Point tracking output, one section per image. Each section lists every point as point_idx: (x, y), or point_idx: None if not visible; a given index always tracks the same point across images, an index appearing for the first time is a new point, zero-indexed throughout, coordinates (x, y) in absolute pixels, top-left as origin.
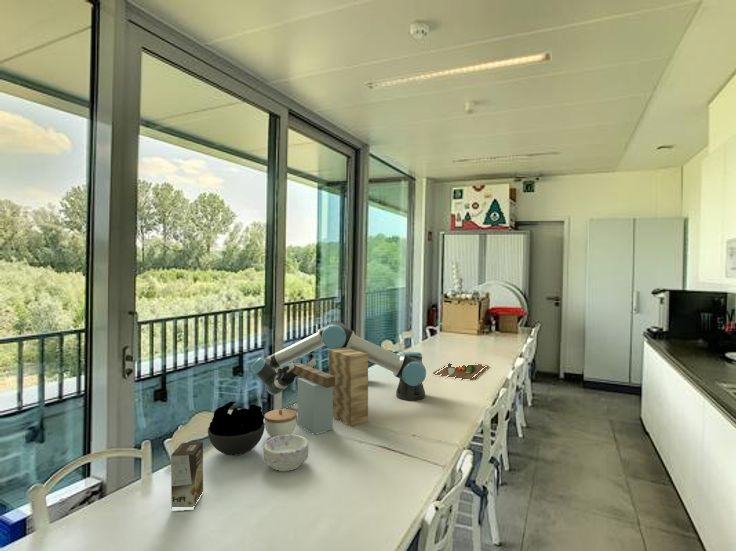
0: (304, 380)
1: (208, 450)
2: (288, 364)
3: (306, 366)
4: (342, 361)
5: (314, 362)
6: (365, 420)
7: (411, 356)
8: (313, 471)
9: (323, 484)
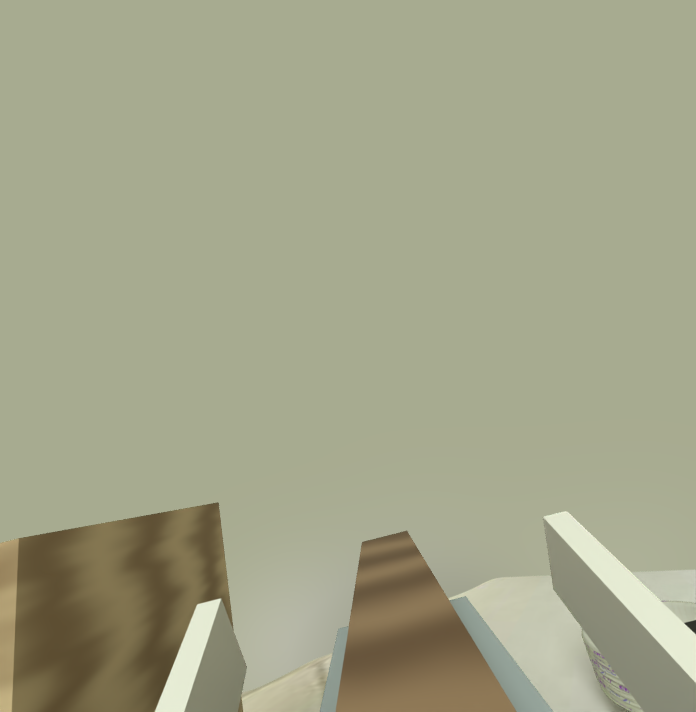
0: (496, 665)
1: None
2: (655, 598)
3: (374, 655)
4: (183, 565)
5: (236, 647)
6: None
7: None
8: (591, 680)
9: (567, 643)
